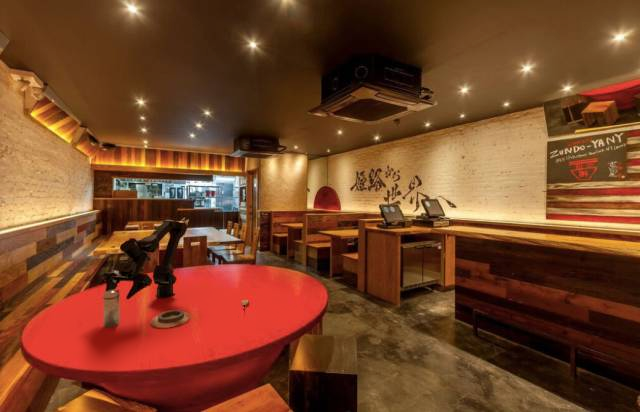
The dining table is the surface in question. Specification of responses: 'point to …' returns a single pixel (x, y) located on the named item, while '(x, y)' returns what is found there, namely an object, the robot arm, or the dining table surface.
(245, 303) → the fork
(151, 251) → the robot arm
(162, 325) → the collar board
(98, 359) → the dining table surface
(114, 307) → the grey lidded canister
